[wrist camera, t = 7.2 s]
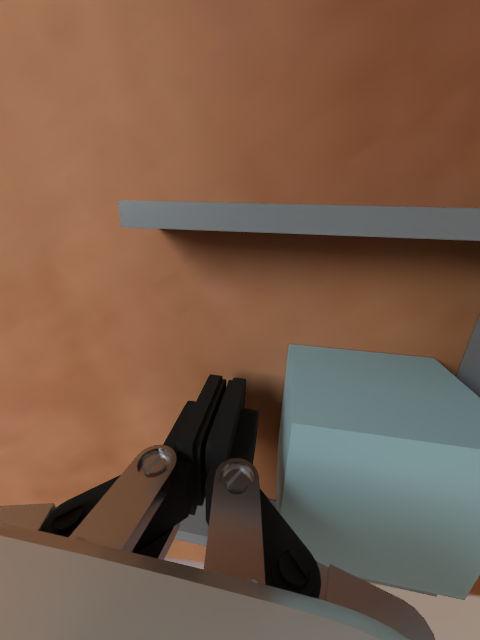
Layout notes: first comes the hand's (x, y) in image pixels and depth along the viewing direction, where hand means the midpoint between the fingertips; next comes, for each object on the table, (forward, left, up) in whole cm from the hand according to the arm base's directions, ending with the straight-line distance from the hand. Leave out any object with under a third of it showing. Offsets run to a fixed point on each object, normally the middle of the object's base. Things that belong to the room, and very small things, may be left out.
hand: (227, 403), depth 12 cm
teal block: (0, +5, -1) cm, 6 cm away
